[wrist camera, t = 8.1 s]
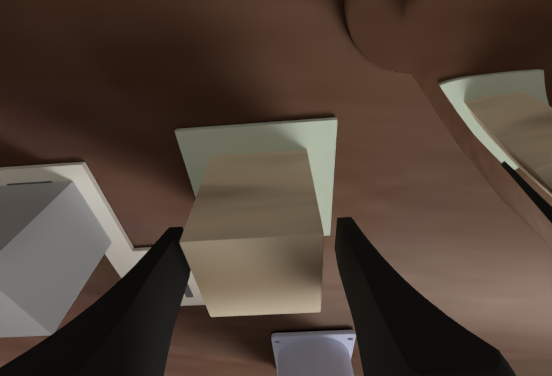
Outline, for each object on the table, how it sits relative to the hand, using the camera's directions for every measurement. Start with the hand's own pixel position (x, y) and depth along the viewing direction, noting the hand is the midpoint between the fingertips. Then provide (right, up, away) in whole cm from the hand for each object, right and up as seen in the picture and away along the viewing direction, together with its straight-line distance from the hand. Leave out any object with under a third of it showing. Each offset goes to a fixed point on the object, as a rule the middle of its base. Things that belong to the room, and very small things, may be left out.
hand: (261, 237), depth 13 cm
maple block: (0, +2, +3) cm, 4 cm away
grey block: (-13, +1, +4) cm, 13 cm away
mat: (0, +2, +3) cm, 4 cm away
